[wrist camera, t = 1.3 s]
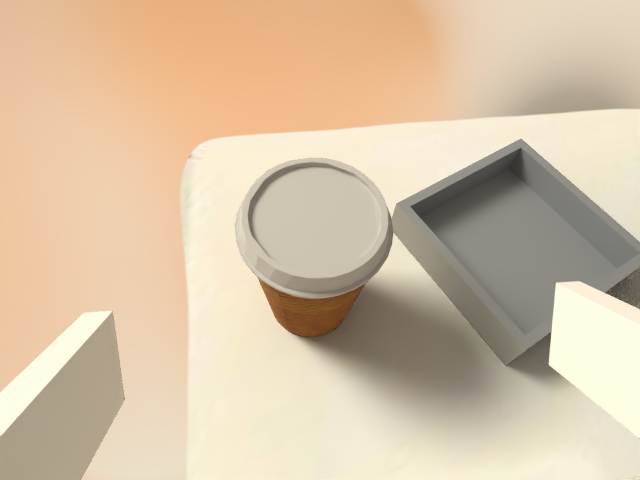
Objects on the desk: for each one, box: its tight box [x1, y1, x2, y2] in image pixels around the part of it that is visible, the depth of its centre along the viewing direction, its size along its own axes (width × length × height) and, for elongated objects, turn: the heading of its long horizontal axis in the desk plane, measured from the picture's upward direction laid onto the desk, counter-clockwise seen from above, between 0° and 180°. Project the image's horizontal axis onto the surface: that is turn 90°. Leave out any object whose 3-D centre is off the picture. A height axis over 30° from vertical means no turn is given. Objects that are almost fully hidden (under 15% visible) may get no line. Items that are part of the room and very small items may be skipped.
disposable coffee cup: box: [235, 158, 393, 337], centre depth 32 cm, size 10×10×12 cm
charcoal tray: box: [392, 139, 640, 365], centre depth 39 cm, size 15×15×4 cm
